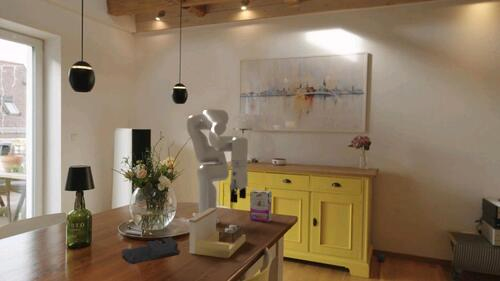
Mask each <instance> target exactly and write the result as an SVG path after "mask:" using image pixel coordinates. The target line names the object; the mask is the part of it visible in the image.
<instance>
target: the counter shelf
mask: <svg viewBox="0 0 500 281" xmlns="http://www.w3.org/2000/svg"><path fill="white" fill-rule="evenodd" d="M217 210H218V208H217V207H216V208H209V209H207V210H206V211H204V212H202V213H200V214H198V213H197V214H198V215H196V216H195V217H191V218H189V219H188V223H189V250H188V252H189V254H192V255H199V256H207V257H208V256H209V257H214V258H215V257H216V258H223V259H229V258H230V257H231V256H232V255H233V254H234V253H235V252H236V251H237V250H238V249H239V248H240V247H241V246H242V245H243V244H244V243H245V242H246V234H242V236H240V237H239V238H238V239H237V240H236V241H235V242H234V243H229V242H221V241H219V231H217V224H216V218H217Z"/></svg>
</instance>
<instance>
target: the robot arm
mask: <svg viewBox="0 0 500 281" xmlns="http://www.w3.org/2000/svg"><path fill="white" fill-rule="evenodd" d="M228 122H229V115H228V112H227V111H226V110H224V109H213V108H209V109H204V110H203V112H202V113H201V114H198V113H197V114H192V115H189V116H188V118H187V120H186V129H187V133H188V135H189V137H190V139H191V142H192V146H193V151H194V153H195V154H194V155H195V158H196V160H197V162H198V163H199V164H201V165H200V166H198V168H197V170H196V175H197V181H198V213H195V212H194V213H193V212H192V217H191V218H193V217H195V216H196V215H198V214H200V213H202V212H204V211H206V210H207V209H209V208H217V201H218V200H217V195H218V193H217V188H216V185H215V184H214V183H213V182H220V181H221V182H222V181H226V180H228V178H229V175H230V184H229V192H230V203H234V204H238V198H239V199H246V198H247V187H248V186H249V184H248V183H249V182H248V180H249V178H248V176H249V175H248V149H249V148H248V147H249V146H248V145H249V142H248V141H249V140H248V138H247V137H243V136H242V137H240V136H239V135H223V134H224V133H225V132H226V130H227V124H228ZM204 130H205V131H208V130H209V132H208V133H209V134H208V137H207V135H206V134H205V133H203V131H204ZM229 152H231V154H230V155H231V156H230V157H231V158H230V167H231V172H230V170H229V166H228V165H229V164H228V162H227V158H226V154H225V153H229ZM230 173H231V174H230ZM238 192H239V195H238ZM219 223H220V219H218V218H217V217H216V225H218V224H219Z"/></svg>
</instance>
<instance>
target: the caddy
mask: <svg viewBox="0 0 500 281" xmlns="http://www.w3.org/2000/svg"><path fill="white" fill-rule="evenodd" d="M218 232H219V241H221V242H229V243H234V242H235V241H236V240H237V239H238V238H239V237H240V236H242V235H243V225H240V224H239V225H237V224H230V223H229V224H227V225H226V226H224V228H222V229H221V230H219V231H218Z"/></svg>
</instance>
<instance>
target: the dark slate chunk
mask: <svg viewBox="0 0 500 281" xmlns="http://www.w3.org/2000/svg"><path fill="white" fill-rule="evenodd" d="M178 246H179V243H178V242H176V241H175V240H174V238H173V237H171V236H169V237H167V238H162V239H161V240H158V239H156V240H153V241H152V240H148V241H147V242H146V245H140V246H136V247H133V248H130V247H129V248H124V249H122V250H121V254H122V256H123V257H124V258H125V260H126V261H127V262H128V263H130V264H132V265H136V264H139V263H144V262H150V261H156V260H159V259H160V260H161V259H164V258H168V257H173V256H178V255H180V254H181V251H179V250H178Z"/></svg>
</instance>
